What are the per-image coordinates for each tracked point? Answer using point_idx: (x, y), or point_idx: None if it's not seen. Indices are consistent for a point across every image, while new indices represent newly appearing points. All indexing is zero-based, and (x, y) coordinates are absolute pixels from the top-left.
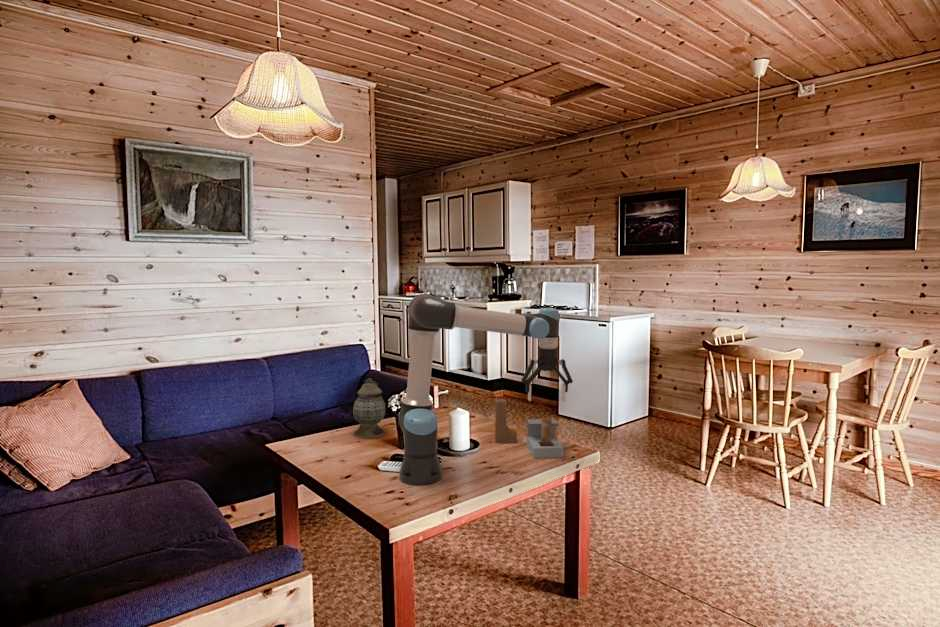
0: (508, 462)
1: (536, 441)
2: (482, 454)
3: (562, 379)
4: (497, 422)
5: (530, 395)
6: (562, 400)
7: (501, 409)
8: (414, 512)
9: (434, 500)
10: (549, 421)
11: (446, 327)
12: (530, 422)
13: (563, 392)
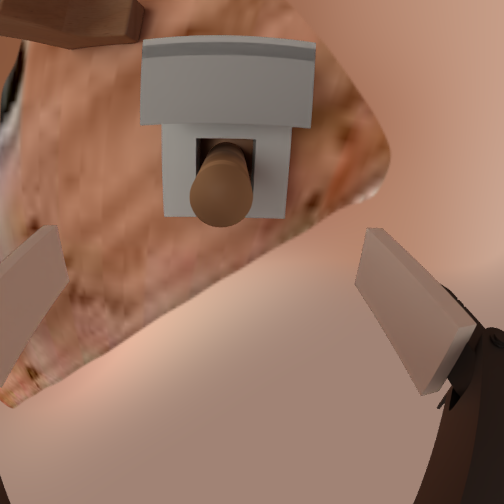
0: (92, 233)
1: (190, 133)
2: (26, 165)
3: (437, 454)
4: (30, 39)
5: (43, 308)
6: (358, 267)
7: (6, 27)
8: (12, 392)
9: (16, 375)
10: (231, 224)
11: None
12: (150, 98)
13: (386, 334)
